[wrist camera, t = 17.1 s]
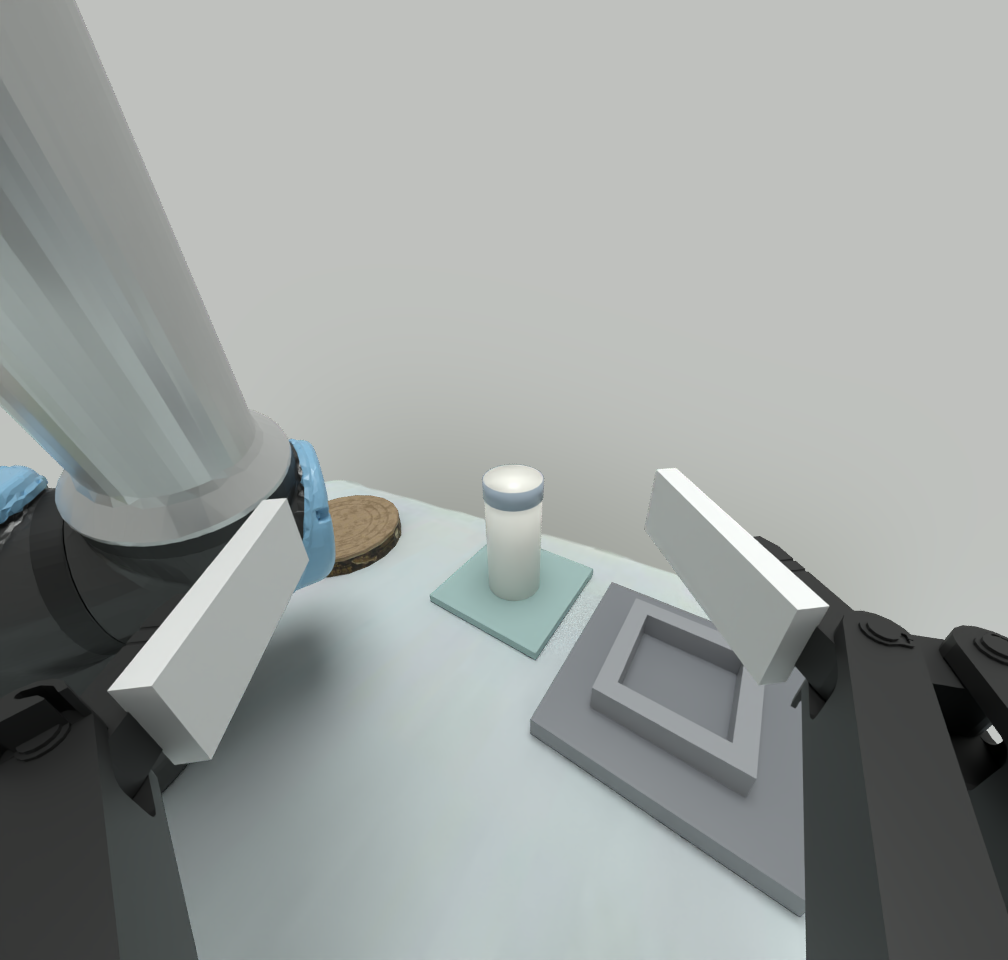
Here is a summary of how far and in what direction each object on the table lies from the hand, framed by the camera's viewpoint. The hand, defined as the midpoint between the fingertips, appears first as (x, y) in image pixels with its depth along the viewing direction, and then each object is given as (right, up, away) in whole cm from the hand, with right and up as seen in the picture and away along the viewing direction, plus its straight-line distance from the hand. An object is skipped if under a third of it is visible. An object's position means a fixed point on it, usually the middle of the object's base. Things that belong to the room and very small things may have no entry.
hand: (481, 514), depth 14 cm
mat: (+2, -12, +31) cm, 34 cm away
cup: (+2, -11, +31) cm, 33 cm away
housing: (+15, -18, +19) cm, 30 cm away
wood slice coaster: (-22, -8, +41) cm, 48 cm away
